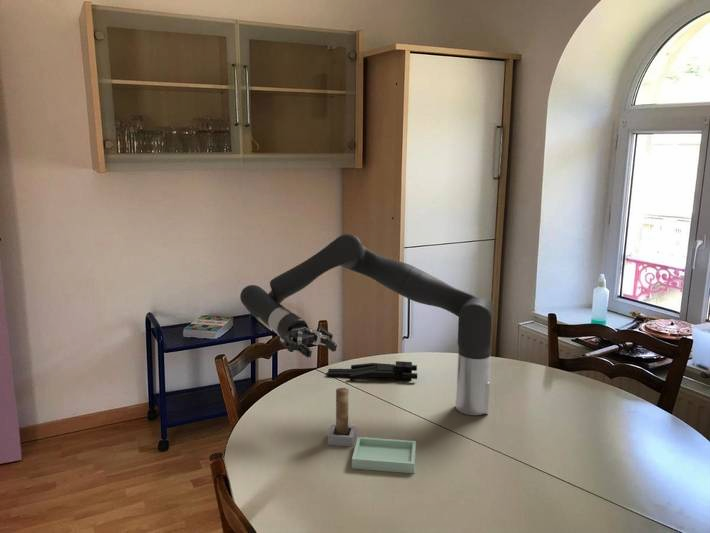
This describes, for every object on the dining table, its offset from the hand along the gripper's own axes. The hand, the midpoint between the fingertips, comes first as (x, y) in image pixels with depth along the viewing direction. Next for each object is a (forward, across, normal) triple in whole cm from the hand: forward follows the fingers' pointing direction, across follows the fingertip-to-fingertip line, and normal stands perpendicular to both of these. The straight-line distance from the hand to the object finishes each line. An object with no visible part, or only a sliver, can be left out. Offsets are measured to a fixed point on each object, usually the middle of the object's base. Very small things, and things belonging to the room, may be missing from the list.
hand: (323, 351), depth 156 cm
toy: (-14, +38, +25) cm, 48 cm away
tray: (+25, +4, +18) cm, 31 cm away
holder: (+11, +2, +21) cm, 24 cm away
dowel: (+11, +2, +21) cm, 24 cm away
